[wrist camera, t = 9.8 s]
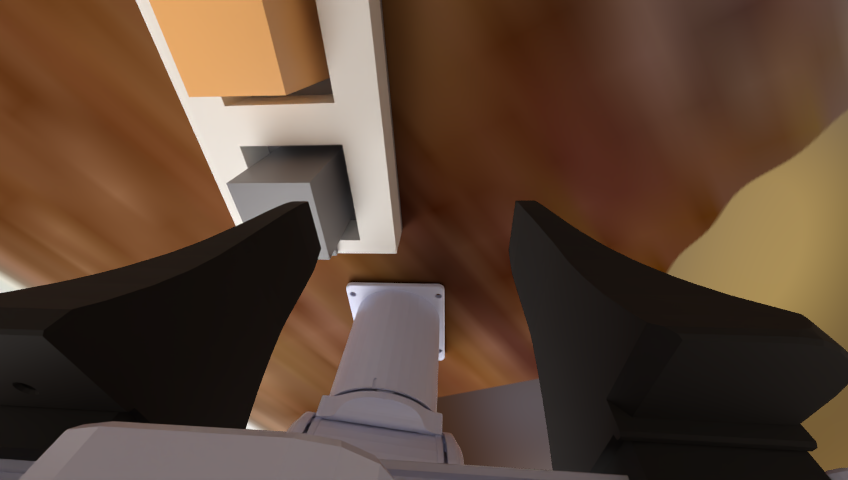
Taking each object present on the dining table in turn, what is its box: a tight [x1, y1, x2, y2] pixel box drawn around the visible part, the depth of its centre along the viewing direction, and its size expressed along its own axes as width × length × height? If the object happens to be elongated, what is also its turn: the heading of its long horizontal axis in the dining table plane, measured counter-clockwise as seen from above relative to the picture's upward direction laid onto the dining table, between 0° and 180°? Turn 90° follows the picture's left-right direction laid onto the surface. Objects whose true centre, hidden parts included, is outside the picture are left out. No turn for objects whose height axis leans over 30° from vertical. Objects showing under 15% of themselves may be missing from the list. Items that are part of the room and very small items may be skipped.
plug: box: [149, 0, 330, 97], centre depth 13 cm, size 4×4×6 cm
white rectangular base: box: [136, 0, 403, 260], centre depth 16 cm, size 16×10×6 cm, turn 2°
